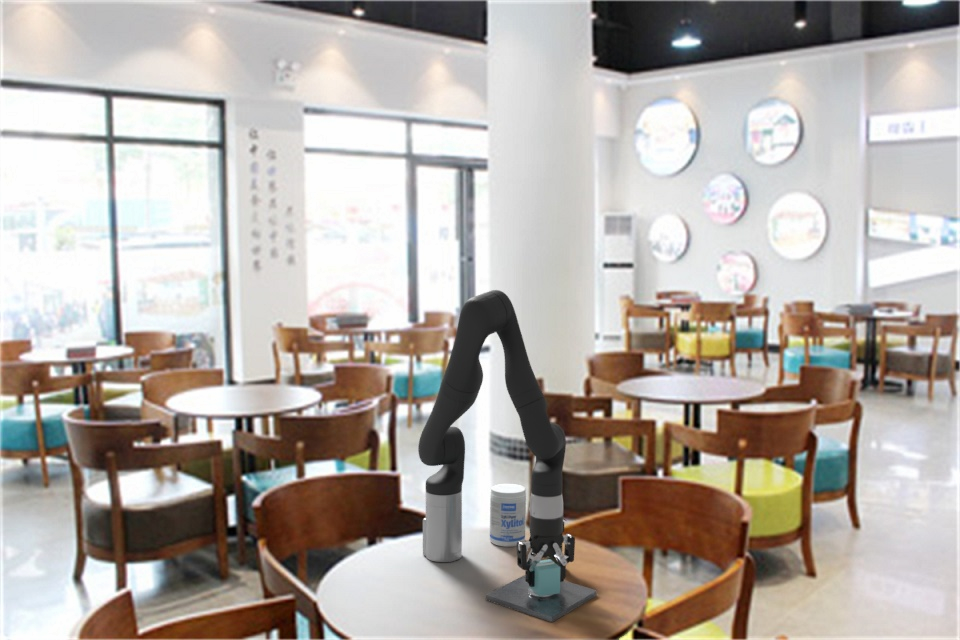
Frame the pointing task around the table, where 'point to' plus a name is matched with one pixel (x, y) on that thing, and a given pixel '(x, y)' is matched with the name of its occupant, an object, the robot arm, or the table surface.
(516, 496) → the supplement tub
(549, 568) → the teal cube with window
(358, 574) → the table surface
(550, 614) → the post base
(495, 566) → the table surface
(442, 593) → the table surface
